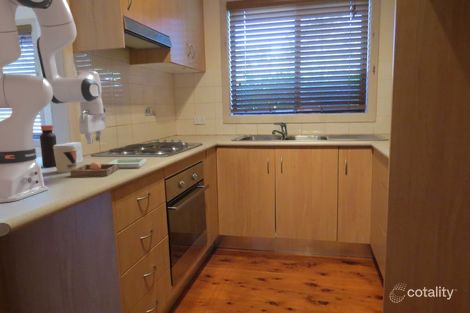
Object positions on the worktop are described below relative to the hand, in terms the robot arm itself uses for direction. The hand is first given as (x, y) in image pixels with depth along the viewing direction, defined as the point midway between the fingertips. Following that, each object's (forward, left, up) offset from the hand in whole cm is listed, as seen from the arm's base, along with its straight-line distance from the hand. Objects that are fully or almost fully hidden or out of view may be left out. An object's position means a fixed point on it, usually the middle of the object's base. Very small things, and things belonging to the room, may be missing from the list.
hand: (94, 142), depth 142 cm
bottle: (+20, +29, -14) cm, 38 cm away
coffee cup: (+6, +15, -14) cm, 21 cm away
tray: (+17, -9, -13) cm, 23 cm away
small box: (+29, +22, -14) cm, 39 cm away
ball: (0, 0, -11) cm, 11 cm away
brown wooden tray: (0, 0, -13) cm, 13 cm away
